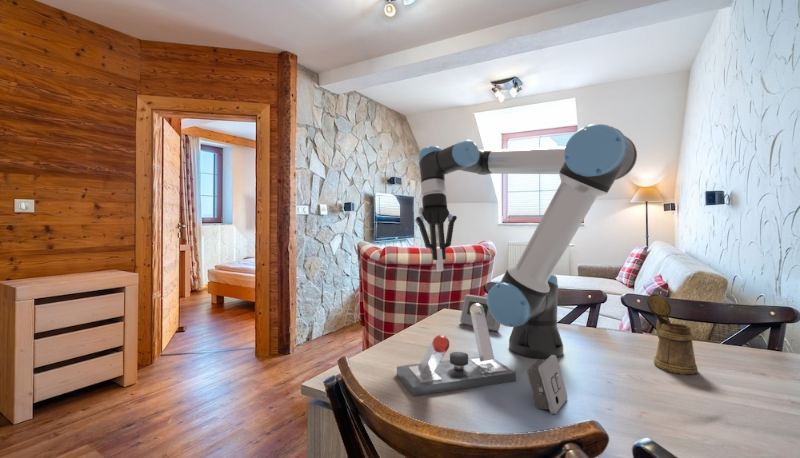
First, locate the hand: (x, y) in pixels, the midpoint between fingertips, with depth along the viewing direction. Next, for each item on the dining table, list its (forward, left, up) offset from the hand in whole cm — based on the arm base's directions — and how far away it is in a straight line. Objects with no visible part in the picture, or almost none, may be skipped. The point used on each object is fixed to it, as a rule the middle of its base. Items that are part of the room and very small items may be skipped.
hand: (440, 270), depth 112 cm
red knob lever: (+5, +25, -21) cm, 33 cm away
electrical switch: (-20, +34, -23) cm, 46 cm away
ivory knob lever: (-11, +19, -21) cm, 30 cm away
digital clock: (-17, -23, -23) cm, 37 cm away
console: (-2, +22, -23) cm, 32 cm away
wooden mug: (-60, +11, -23) cm, 66 cm away
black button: (-3, +22, -20) cm, 29 cm away
